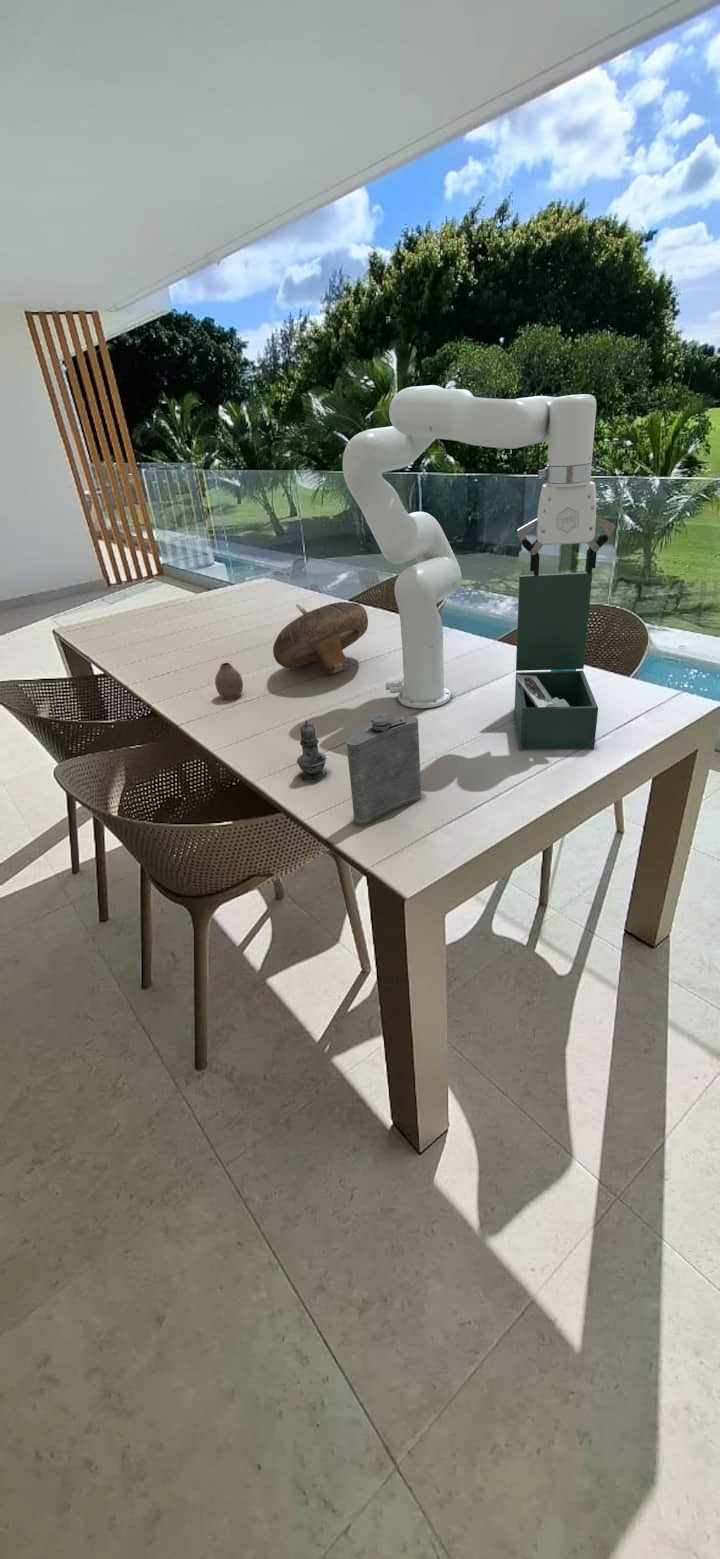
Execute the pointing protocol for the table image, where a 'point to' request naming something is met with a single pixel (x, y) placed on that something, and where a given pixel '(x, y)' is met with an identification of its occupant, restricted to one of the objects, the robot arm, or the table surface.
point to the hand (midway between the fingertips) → (561, 573)
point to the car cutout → (539, 692)
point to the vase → (228, 682)
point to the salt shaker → (311, 755)
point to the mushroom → (321, 636)
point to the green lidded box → (557, 713)
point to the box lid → (552, 621)
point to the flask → (384, 767)
